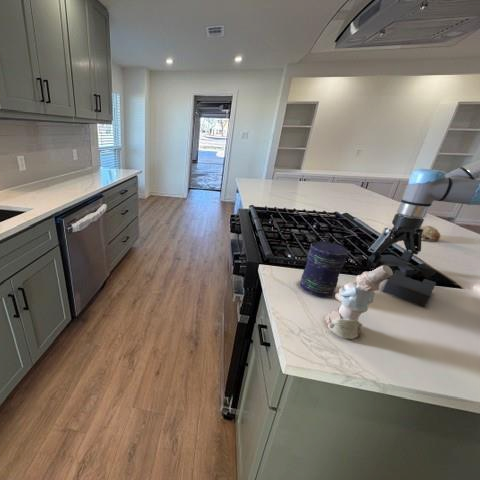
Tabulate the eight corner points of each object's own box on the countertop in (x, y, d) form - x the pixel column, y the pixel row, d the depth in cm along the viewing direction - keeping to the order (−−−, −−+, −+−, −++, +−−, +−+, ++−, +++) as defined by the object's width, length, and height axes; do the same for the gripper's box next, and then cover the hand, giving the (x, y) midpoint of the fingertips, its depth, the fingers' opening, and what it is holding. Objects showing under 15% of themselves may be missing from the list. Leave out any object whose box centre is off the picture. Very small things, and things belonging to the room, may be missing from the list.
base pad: (430, 292, 82) (436, 282, 81) (424, 307, 75) (430, 296, 74) (391, 279, 89) (395, 269, 88) (382, 291, 82) (387, 281, 81)
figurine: (369, 343, 62) (402, 272, 54) (332, 338, 63) (359, 268, 55) (351, 319, 70) (377, 254, 62) (318, 314, 71) (340, 250, 63)
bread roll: (408, 243, 128) (415, 232, 123) (408, 230, 134) (416, 219, 128) (435, 248, 123) (444, 237, 118) (434, 234, 129) (443, 223, 123)
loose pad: (387, 263, 100) (391, 254, 99) (418, 278, 90) (422, 268, 89) (365, 264, 99) (369, 255, 97) (394, 280, 89) (398, 270, 87)
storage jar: (299, 277, 89) (310, 238, 83) (331, 285, 85) (345, 244, 79) (299, 292, 81) (311, 250, 75) (335, 301, 77) (351, 257, 71)
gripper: (427, 211, 93) (403, 262, 101) (369, 213, 89) (349, 265, 98) (452, 218, 86) (424, 272, 94) (389, 220, 82) (366, 275, 91)
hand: (386, 268), depth 96 cm, fingers open, 13 cm apart
